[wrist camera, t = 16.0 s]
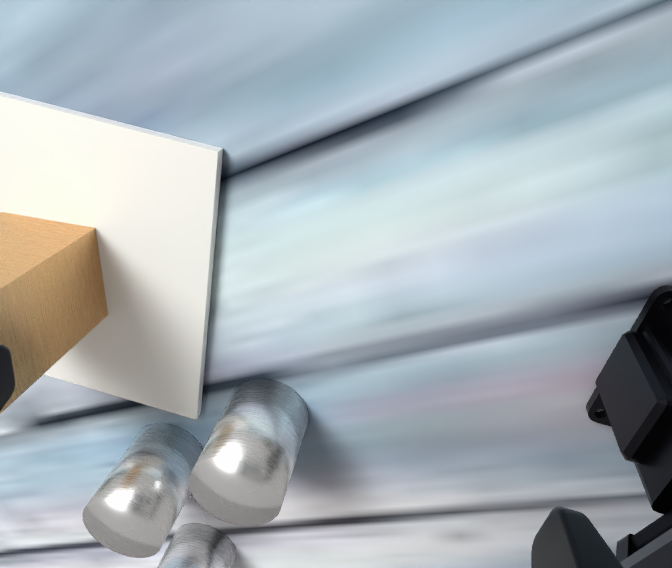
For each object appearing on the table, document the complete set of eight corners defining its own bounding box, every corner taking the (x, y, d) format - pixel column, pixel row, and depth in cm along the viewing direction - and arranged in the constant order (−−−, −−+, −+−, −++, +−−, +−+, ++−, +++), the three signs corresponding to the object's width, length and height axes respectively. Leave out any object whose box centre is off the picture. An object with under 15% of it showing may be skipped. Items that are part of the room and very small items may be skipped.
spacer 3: (320, 400, 25) (295, 484, 21) (292, 451, 27) (263, 538, 23) (243, 366, 25) (202, 443, 21) (221, 420, 27) (179, 501, 23)
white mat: (223, 148, 20) (218, 151, 20) (200, 413, 27) (196, 420, 27) (-63, 75, 21) (-73, 77, 21) (-13, 350, 28) (-20, 355, 28)
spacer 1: (207, 435, 28) (163, 515, 24) (203, 484, 30) (161, 566, 26) (137, 414, 28) (79, 489, 24) (137, 465, 30) (85, 542, 26)
